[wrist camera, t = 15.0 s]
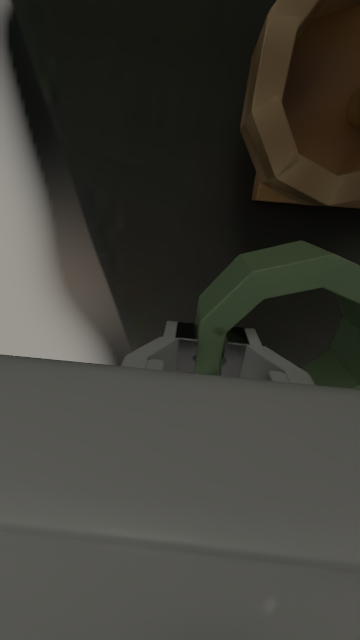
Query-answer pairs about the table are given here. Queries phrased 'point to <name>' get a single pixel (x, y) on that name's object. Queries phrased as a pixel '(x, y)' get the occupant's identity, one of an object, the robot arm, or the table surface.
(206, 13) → the table surface
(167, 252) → the table surface
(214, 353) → the sage ring
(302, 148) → the peg stand
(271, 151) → the birch ring
